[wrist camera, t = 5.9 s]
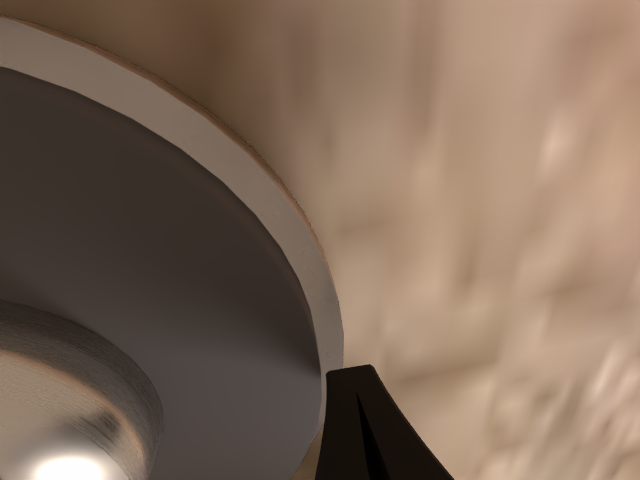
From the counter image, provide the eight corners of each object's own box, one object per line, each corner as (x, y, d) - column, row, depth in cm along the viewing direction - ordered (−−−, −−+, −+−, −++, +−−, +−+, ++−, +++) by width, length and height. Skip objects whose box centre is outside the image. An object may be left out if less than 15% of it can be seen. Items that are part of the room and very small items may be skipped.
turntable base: (351, 474, 19) (355, 499, 18) (-83, 547, 17) (-107, 579, 16) (311, -39, 9) (315, -53, 8) (-717, 44, 7) (-885, 40, 6)
